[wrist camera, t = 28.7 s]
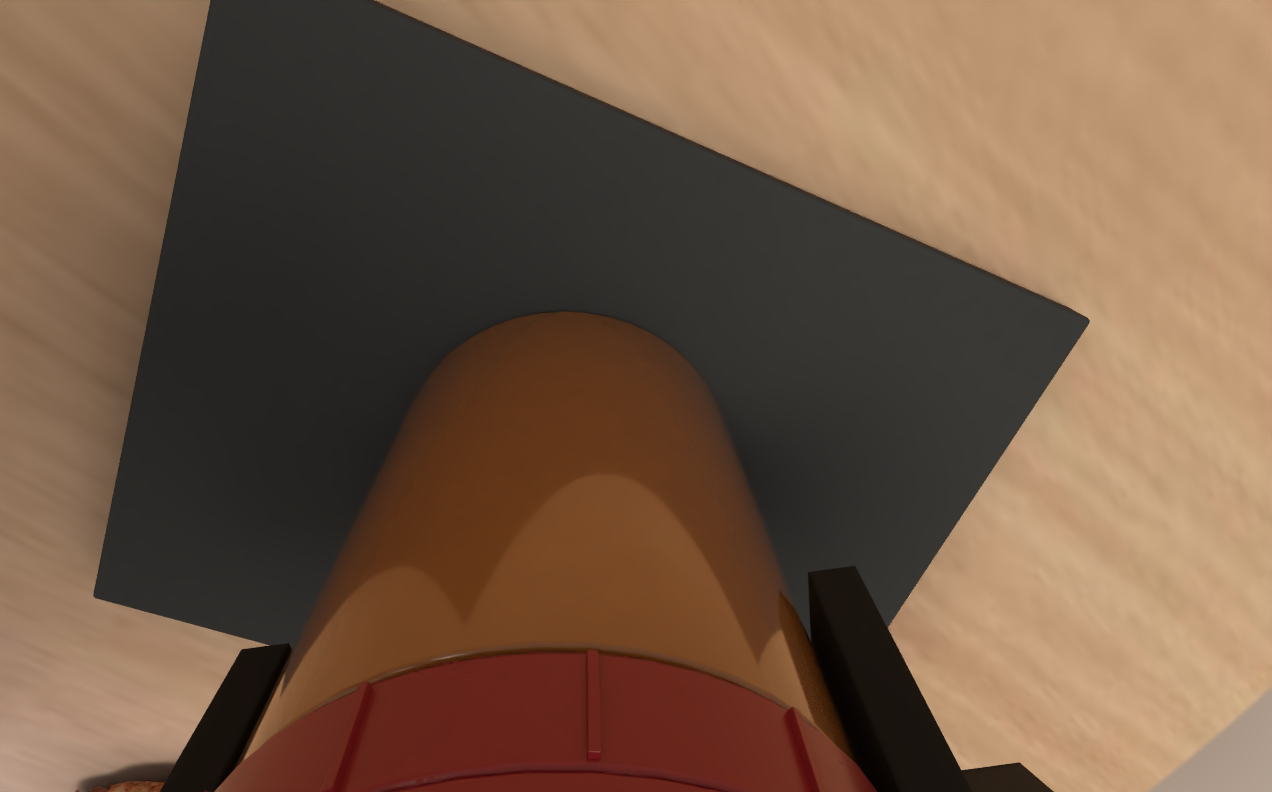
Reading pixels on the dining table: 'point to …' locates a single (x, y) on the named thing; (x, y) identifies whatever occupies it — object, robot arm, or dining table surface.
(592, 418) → the jar
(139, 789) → the cookie
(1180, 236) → the dining table surface
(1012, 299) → the mat
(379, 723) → the lid
